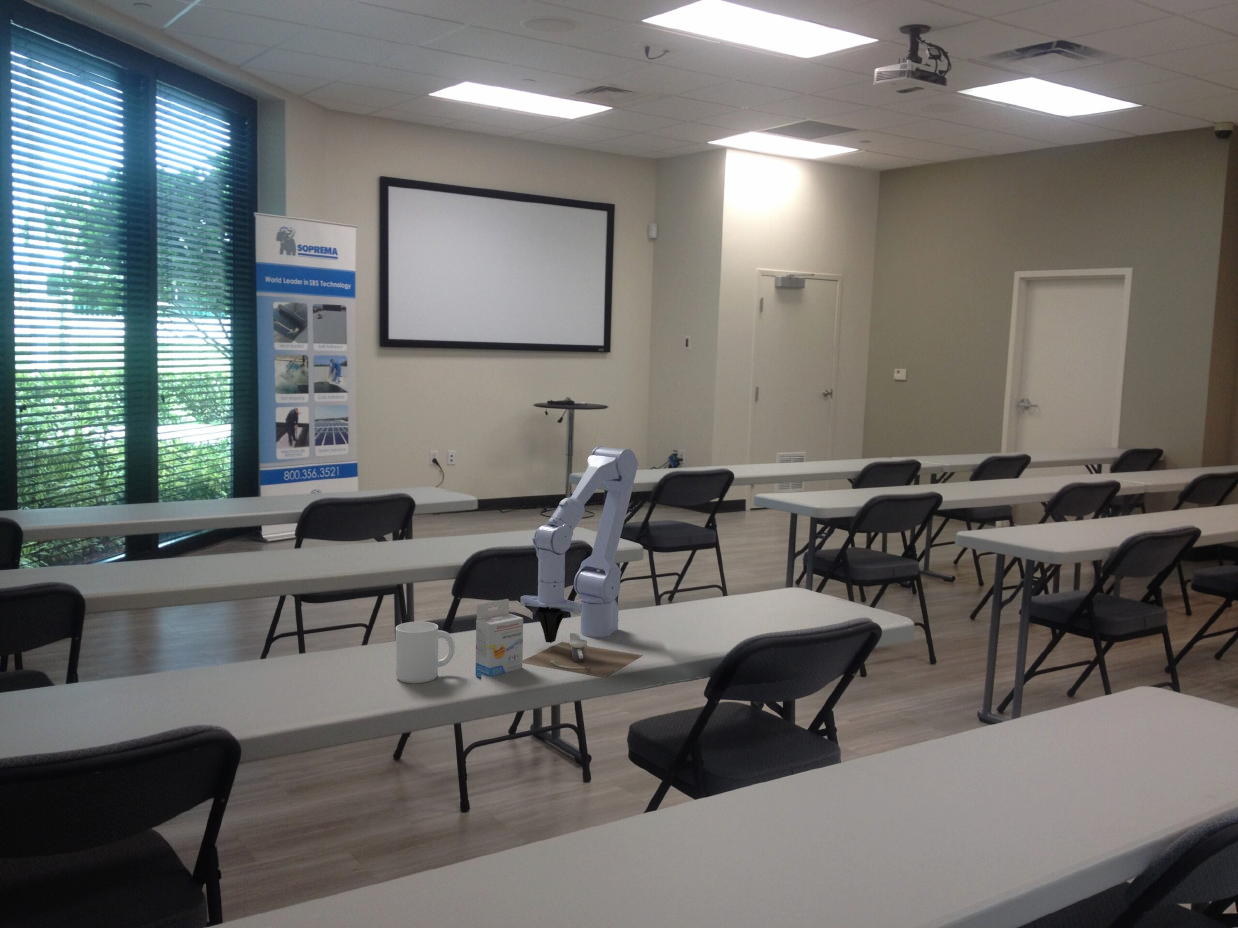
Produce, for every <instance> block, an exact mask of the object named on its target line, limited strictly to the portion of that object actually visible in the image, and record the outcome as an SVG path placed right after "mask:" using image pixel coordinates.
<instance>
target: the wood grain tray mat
mask: <svg viewBox="0 0 1238 928" xmlns="http://www.w3.org/2000/svg"><path fill="white" fill-rule="evenodd" d="M643 656H644V655H643V654H639V653H638V654H636V653H632V652H625V651H620V650H613V649H607V648H603V647H601V648H600V647H595V646H590V645H587V646H586V647H585V654H584V661H583V662H573V661H572V649H571V646H570V642H565V641H560V642H558V643H556V644H554V645H552V646H550V647H547V648H546V649H544V650H542V651H540V652H538V653H536V654H533V655H531V656H529V657H527V658H525V659H523V660H522V664H526V665H532V666H538V667H542V668H549V669H553V670H559V671H565V672H571V673H576V674H582V675H587V676H591V677H598V678H604V679H606V678H608V677H609V676H611V675H613V674H614V673H616V672H618V671H620V670H621V669H623V668H624V667H626V666H628V665H629V664H631V663H633V662H634V661H635V662H636V660H638V659H640V658H642V657H643Z"/></svg>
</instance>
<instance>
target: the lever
mask: <svg viewBox="0 0 1238 928" xmlns="http://www.w3.org/2000/svg"><path fill="white" fill-rule="evenodd" d="M569 643H570V646H571V649H572V661H573V662H583V661H584V654H585V647H586V646H588V640H586V639H583V638H581V637H580V633H579V632H575V633H574V632H572V633H571V632H570V633H569Z"/></svg>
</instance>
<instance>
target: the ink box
mask: <svg viewBox="0 0 1238 928" xmlns="http://www.w3.org/2000/svg"><path fill="white" fill-rule="evenodd" d="M492 607H498V608H497V609H493V610H491V609H490V608H492ZM488 609H490V610H488ZM509 610H510V599H508V598H505V599H499V600H494V601H489V602H488V601H487V602H484V603H478V605H477V606H476V619H475V677H476V678H479V679H482V675H484V676H488V677H493V676H495V675H496V676H497V675H501V674H504V673H509V672H512V671H513V672H514V671H517V670H520V669H523V663H522V661H523V660H524V659H523V656H524V653H523V652H524V649H523V648H524V617H521V616H519V615H515V614H512V613H509Z"/></svg>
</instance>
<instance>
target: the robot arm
mask: <svg viewBox="0 0 1238 928" xmlns="http://www.w3.org/2000/svg"><path fill="white" fill-rule="evenodd" d="M586 461H587V462H586V463H587V467H586V469H585V472H584V473H583V475H582V477H581V478H580V481H579V482H578V484H577V486H576V487H575V489H574V491H573V493H572V495H570V497H565V498H563V499H562V500H560V502H559V504H558V506H557V507H556V509H555V510H554V512H553V514H552V515H551V517H550V518H549V519H548V520H547V522H546V524H543V525H541V526H539V527H538V528H537V529H536V530H535V532H534V536H533V537H532V543H533V544H532V545H533V546H534V548H535V551H536V557H537V559H538V571H537V573H538V574H537V575H538V577H537V584H538V585H537V595H528V594H526V595H522V596H520V606H522V607H525V606H529V607H535V608H537V610H535V615H536V617H537V619H538V621H539V623H540V626H541V630H542V632H543V634H544V640H545V643H550V644H552V643H554V642H556V639H557V637H558V636H557V635H558V632H559V628H560V625H561V623H562V620H563V619H564V617H565V615H566V613H567V612H569V613H573V614H576V615H579V614H580V633H579V634H580V635H582V636H584V637H589V638H604V637H605V638H606V637H608V636H611V635H612V634H613V633H614V632H616V631H618V630H619V605H618V603H617V601H616V598H618V597H617V596H618V595H619V593H620V590H621V575H622V570H621V568H620V567H619V566H618V565H617V563H616V562H615V560H616V559H615V558H616V554H617V552H618V547H619V543H620V539H621V534H622V531H623V528H624V523H625V520H626V517H627V516H626V515H627V513H628V508H629V505H630V500H631V496H632V491H633V489H634V488H633V487H634V483H635V478H636V475H637V471H638V468H639V467H638V466H639V460H638V459H637V456H636V454H635V452H634V451H633V450H632V449H630V448H615V447H605V446H601V445H600V446H596V447H594V449H592V450H591V453H590V455H589V456H588V458H587V460H586ZM602 483H603V484H604V485H605V487H606V489H607V493H606V498H605V500H604V502H605V503H604V505H603V508H602V513H601V516H600V517H601V518H600V519H599V523H598V524H599V525H598V529H597V533H596V537H595V540H594V544H593V547H592V548H593V549H592V552H591V554H590V556H588V557H587V558H586V559H584V560H583V561H582V562H581V564H580V567H579V569H578V571H577V572H576V574H575V576H574V580H573V588H574V591H575V592H576V594H577V595H578V599H580V602H577V601H573V600H569V599H565V580H566V579H565V576H566V575H565V572H566V569H565V568H566V567H565V566H566V561H565V559H566V552H567V551H568V550H569V549H570V547H571V545H572V540H573V539H572V538H573V535H574V531H575V529H576V527H577V526H578V524H579V523H580V522H581V520H582V518H583V516H585V513H586V511H585V510H586V509H585V505H586V503H587V502H588V501H589V500H590V498H591V497H592V496H593V494H595V492H596V490H598V488H599V487H600V485H601V484H602ZM602 571H603V572H602Z"/></svg>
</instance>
